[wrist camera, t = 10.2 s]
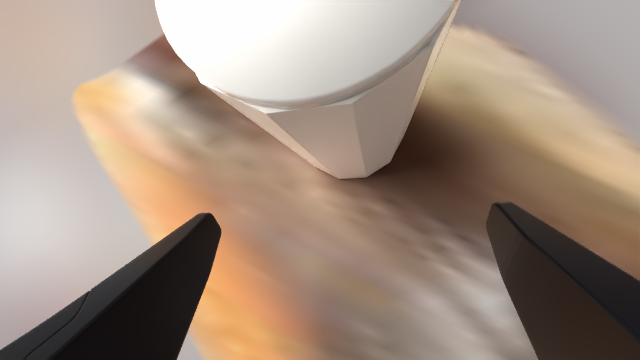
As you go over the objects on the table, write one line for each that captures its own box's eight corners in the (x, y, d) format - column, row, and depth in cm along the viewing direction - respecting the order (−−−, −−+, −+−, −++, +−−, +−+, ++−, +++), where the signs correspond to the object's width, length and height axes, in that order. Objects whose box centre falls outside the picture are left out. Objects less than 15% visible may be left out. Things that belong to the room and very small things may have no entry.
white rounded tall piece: (405, 175, 15) (509, 70, 4) (303, 181, 17) (145, 117, 5) (398, 75, 16) (464, -266, 5) (301, 88, 18) (160, -150, 6)
